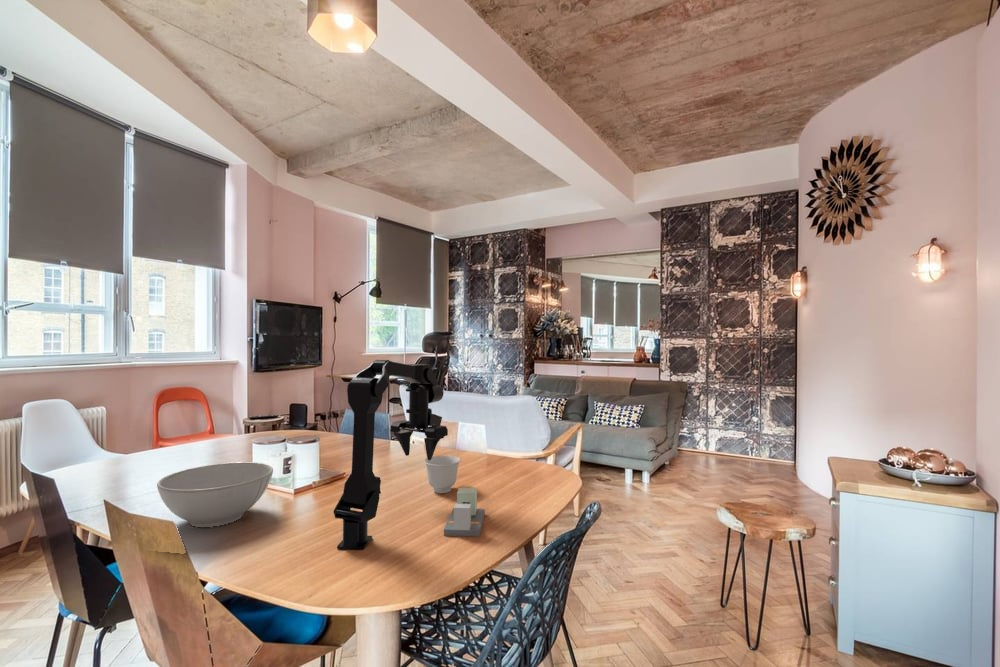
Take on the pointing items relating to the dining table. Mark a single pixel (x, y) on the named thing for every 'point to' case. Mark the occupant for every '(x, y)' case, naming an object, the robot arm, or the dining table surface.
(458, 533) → the board
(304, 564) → the dining table surface
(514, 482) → the dining table surface
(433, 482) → the teacup
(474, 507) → the sleeve
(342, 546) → the robot arm
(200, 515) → the decorative bowl
